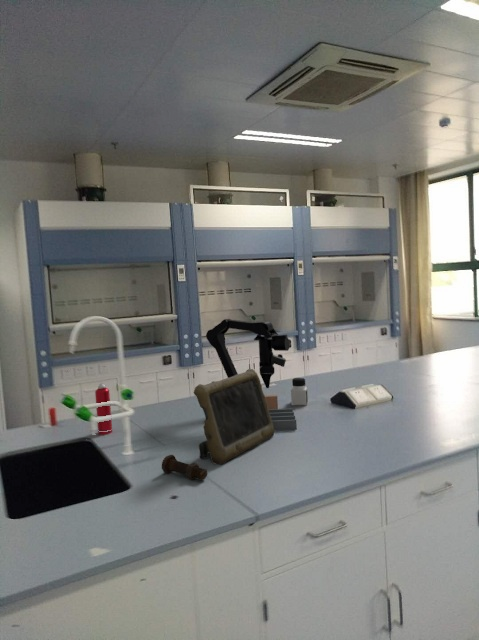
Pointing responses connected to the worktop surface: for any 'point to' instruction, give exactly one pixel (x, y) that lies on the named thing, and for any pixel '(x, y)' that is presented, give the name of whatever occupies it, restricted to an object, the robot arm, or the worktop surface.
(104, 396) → the bottle
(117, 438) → the worktop surface
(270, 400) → the tall tan upright block
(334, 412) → the worktop surface
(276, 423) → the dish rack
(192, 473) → the bolt
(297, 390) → the medicine bottle
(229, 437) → the tablet
